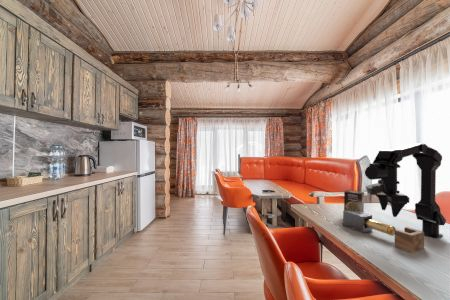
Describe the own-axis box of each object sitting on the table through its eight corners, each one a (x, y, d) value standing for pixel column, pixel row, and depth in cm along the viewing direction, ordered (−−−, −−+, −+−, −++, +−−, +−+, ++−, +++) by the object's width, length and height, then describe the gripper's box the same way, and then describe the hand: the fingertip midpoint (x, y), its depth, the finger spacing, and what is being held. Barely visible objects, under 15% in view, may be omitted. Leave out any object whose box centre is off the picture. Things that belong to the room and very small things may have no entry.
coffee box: (343, 218, 121) (343, 191, 121) (346, 215, 126) (346, 189, 126) (361, 222, 115) (362, 193, 115) (364, 219, 120) (364, 191, 120)
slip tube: (353, 220, 112) (353, 212, 112) (395, 235, 93) (395, 225, 93) (347, 221, 110) (347, 213, 110) (390, 236, 92) (390, 227, 92)
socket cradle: (406, 242, 91) (406, 226, 91) (424, 248, 86) (424, 231, 86) (394, 246, 88) (394, 230, 88) (411, 252, 82) (411, 235, 82)
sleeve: (351, 223, 114) (351, 209, 114) (372, 230, 104) (372, 215, 104) (343, 225, 111) (343, 210, 111) (363, 233, 101) (363, 217, 101)
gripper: (359, 174, 102) (360, 206, 103) (377, 181, 84) (377, 219, 84) (386, 175, 100) (386, 207, 100) (410, 182, 81) (410, 221, 82)
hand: (388, 213), depth 92 cm, fingers open, 9 cm apart
